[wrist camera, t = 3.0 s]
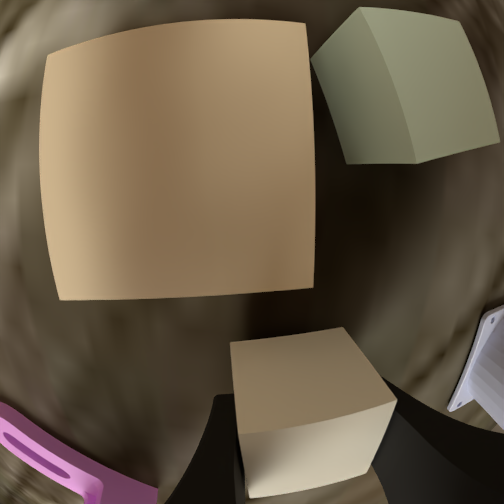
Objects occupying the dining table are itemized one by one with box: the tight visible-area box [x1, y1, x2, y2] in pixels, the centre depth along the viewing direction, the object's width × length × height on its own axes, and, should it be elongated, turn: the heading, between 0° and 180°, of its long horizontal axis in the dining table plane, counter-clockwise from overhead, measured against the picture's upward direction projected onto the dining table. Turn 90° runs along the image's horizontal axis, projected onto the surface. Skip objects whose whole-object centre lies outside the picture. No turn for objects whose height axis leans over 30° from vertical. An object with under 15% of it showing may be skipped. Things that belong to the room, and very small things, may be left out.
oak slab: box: [39, 19, 315, 300], centre depth 7 cm, size 7×7×3 cm
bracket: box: [0, 402, 158, 504], centre depth 9 cm, size 13×6×7 cm, turn 51°
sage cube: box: [310, 7, 500, 164], centre depth 7 cm, size 4×4×4 cm
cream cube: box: [230, 327, 397, 498], centre depth 8 cm, size 4×4×4 cm
